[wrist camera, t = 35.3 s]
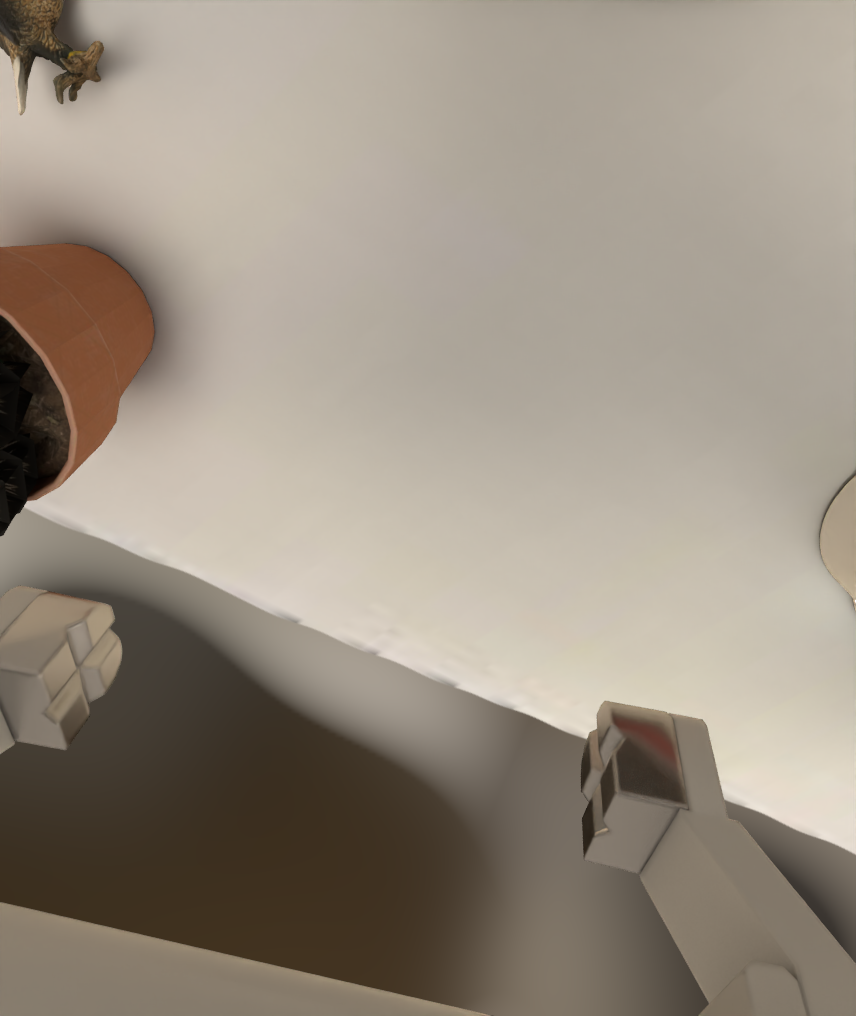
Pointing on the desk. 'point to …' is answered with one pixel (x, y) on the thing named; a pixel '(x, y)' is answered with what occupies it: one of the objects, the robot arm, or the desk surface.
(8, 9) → the eagle figurine
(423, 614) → the desk surface
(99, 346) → the potted plant
